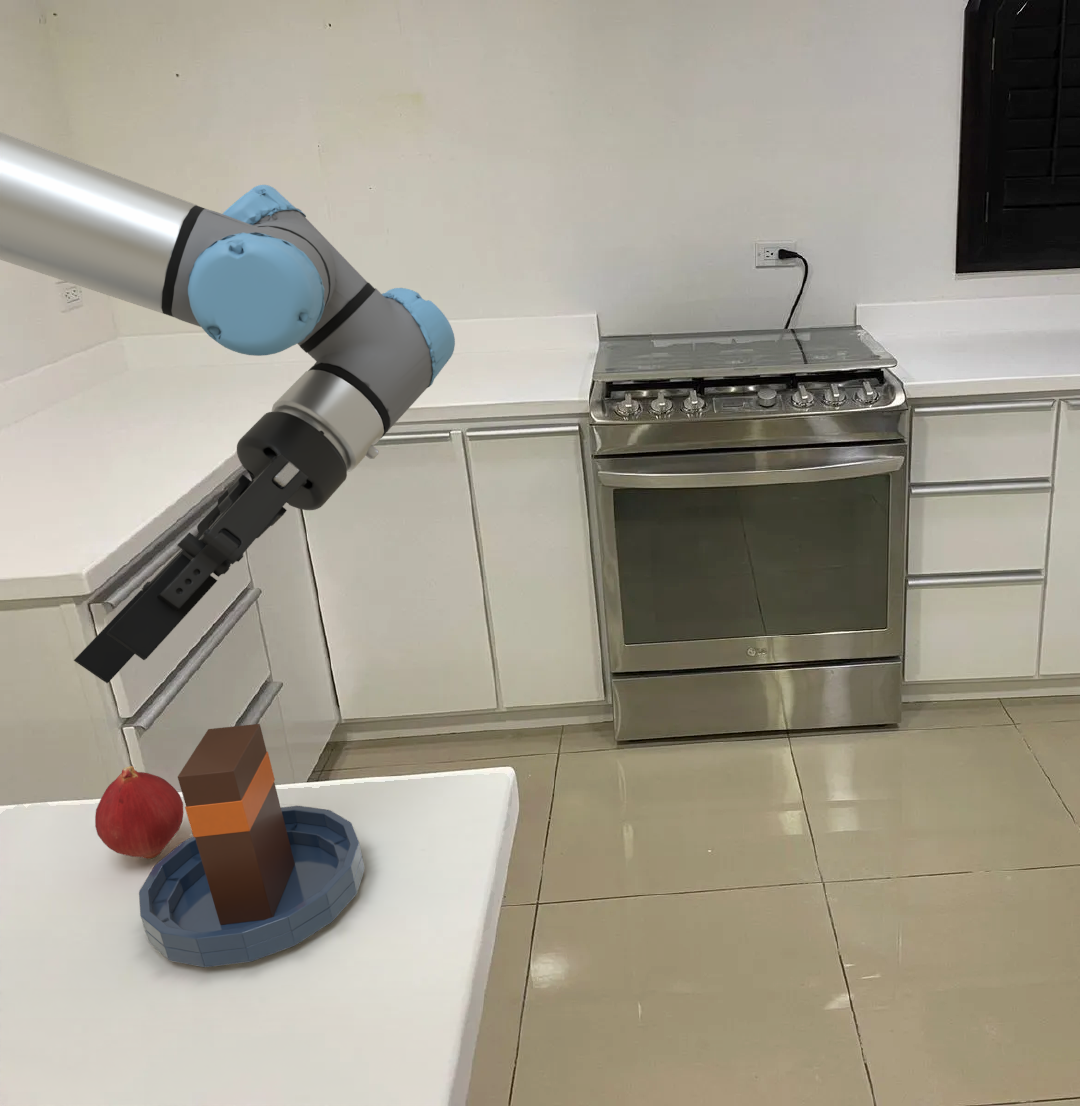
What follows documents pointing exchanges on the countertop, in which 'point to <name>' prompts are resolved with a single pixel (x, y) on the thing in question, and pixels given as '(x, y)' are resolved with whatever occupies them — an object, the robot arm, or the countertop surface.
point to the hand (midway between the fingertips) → (106, 660)
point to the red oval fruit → (138, 814)
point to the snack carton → (237, 823)
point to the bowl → (305, 907)
